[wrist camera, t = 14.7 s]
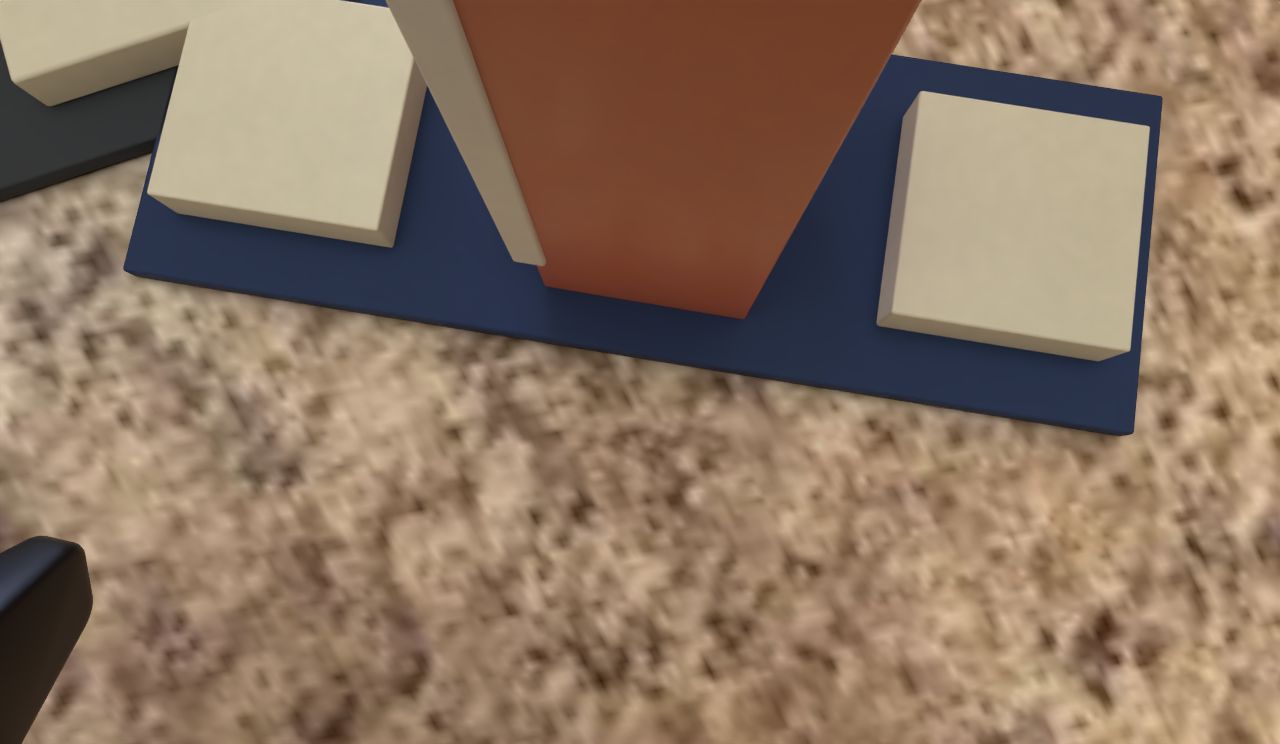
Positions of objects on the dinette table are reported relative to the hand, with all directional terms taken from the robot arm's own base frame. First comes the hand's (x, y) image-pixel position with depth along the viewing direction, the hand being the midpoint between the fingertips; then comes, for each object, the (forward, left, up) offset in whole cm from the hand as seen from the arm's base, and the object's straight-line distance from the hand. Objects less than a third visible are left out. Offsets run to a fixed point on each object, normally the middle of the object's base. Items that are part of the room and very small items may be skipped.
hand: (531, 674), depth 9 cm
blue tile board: (+8, +3, -9) cm, 12 cm away
